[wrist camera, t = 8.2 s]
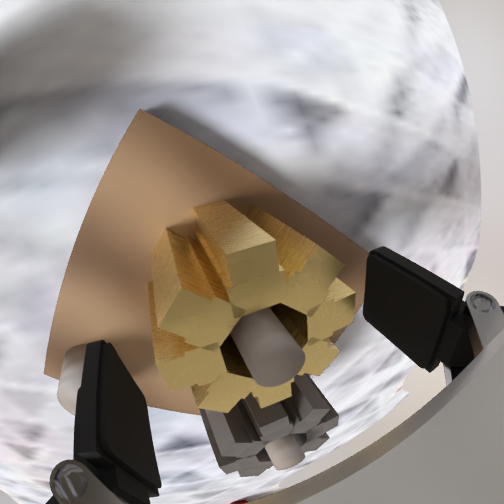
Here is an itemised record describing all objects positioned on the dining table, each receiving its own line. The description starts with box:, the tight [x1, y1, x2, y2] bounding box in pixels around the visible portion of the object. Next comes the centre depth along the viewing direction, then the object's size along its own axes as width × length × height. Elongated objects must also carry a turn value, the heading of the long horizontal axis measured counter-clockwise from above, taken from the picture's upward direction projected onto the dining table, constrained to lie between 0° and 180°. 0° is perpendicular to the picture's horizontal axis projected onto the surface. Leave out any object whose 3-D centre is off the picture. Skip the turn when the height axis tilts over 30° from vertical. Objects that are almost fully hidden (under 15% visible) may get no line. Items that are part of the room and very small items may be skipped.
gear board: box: [44, 109, 369, 477], centre depth 12 cm, size 14×16×7 cm
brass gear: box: [148, 200, 356, 413], centre depth 10 cm, size 7×7×5 cm
